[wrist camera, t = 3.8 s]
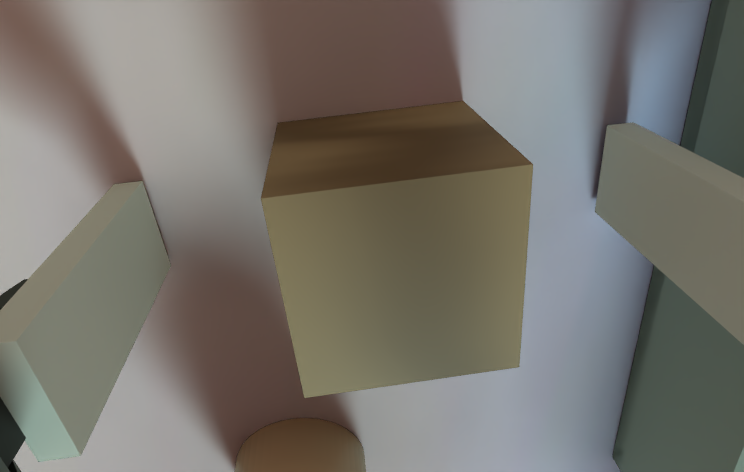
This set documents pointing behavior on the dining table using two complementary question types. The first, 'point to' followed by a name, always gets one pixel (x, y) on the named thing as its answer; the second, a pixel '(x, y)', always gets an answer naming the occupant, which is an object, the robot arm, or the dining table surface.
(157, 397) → the dining table surface
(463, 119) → the walnut cube
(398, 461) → the dining table surface
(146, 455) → the dining table surface
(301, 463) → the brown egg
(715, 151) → the tote
